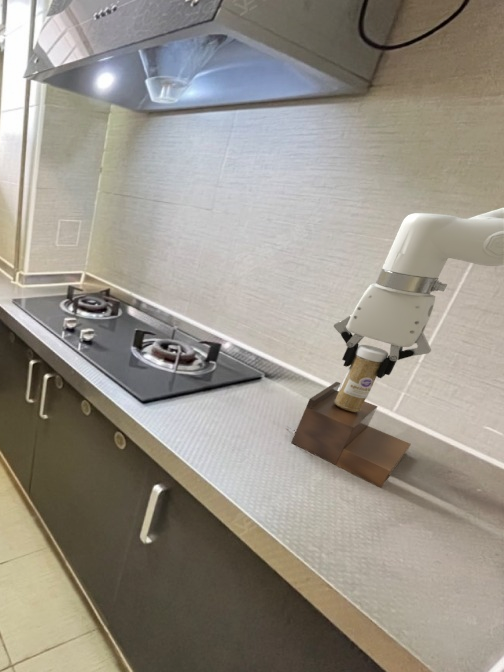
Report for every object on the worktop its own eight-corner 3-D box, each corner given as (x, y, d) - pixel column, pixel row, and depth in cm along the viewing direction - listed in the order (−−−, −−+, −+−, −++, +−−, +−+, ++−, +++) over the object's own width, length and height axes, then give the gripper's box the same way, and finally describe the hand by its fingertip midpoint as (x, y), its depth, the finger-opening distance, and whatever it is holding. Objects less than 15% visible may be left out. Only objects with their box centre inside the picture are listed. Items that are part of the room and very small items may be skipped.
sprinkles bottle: (345, 412, 79) (373, 352, 74) (327, 400, 84) (352, 343, 79) (366, 413, 80) (395, 354, 75) (347, 401, 84) (374, 344, 79)
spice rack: (402, 459, 82) (427, 415, 78) (380, 487, 73) (407, 439, 69) (318, 421, 93) (336, 381, 89) (290, 442, 84) (309, 398, 80)
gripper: (475, 293, 68) (425, 385, 74) (354, 270, 80) (320, 351, 87) (468, 298, 63) (416, 394, 70) (341, 273, 76) (307, 357, 83)
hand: (363, 369), depth 78 cm, fingers closed on sprinkles bottle, 4 cm apart
